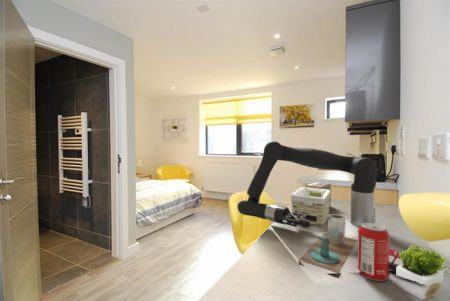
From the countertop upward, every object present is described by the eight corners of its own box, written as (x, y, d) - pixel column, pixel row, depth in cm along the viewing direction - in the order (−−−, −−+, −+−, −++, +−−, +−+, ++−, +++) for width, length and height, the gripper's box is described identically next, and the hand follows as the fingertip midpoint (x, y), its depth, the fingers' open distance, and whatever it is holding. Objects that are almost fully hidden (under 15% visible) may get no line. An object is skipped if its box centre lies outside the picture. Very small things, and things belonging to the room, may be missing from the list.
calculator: (415, 270, 64) (357, 249, 75) (414, 285, 65) (356, 262, 76) (421, 257, 72) (367, 240, 83) (420, 270, 72) (366, 251, 83)
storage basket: (324, 229, 104) (324, 198, 104) (289, 223, 113) (289, 193, 112) (331, 216, 125) (331, 189, 124) (300, 211, 133) (301, 186, 133)
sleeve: (338, 238, 90) (339, 214, 90) (347, 245, 85) (348, 218, 84) (325, 239, 90) (325, 214, 89) (333, 245, 84) (333, 219, 84)
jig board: (325, 235, 97) (325, 216, 97) (357, 243, 89) (357, 222, 89) (298, 264, 74) (298, 238, 74) (338, 278, 66) (339, 249, 66)
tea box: (315, 203, 150) (316, 181, 150) (331, 206, 143) (331, 183, 143) (304, 207, 140) (305, 184, 140) (320, 211, 133) (321, 186, 133)
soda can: (359, 279, 66) (360, 228, 65) (355, 266, 73) (356, 220, 72) (391, 286, 62) (393, 232, 62) (385, 271, 70) (386, 223, 69)
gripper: (269, 209, 97) (307, 217, 87) (284, 202, 108) (318, 208, 98) (269, 226, 98) (307, 236, 87) (283, 218, 109) (318, 226, 98)
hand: (313, 221), depth 93 cm, fingers open, 8 cm apart
